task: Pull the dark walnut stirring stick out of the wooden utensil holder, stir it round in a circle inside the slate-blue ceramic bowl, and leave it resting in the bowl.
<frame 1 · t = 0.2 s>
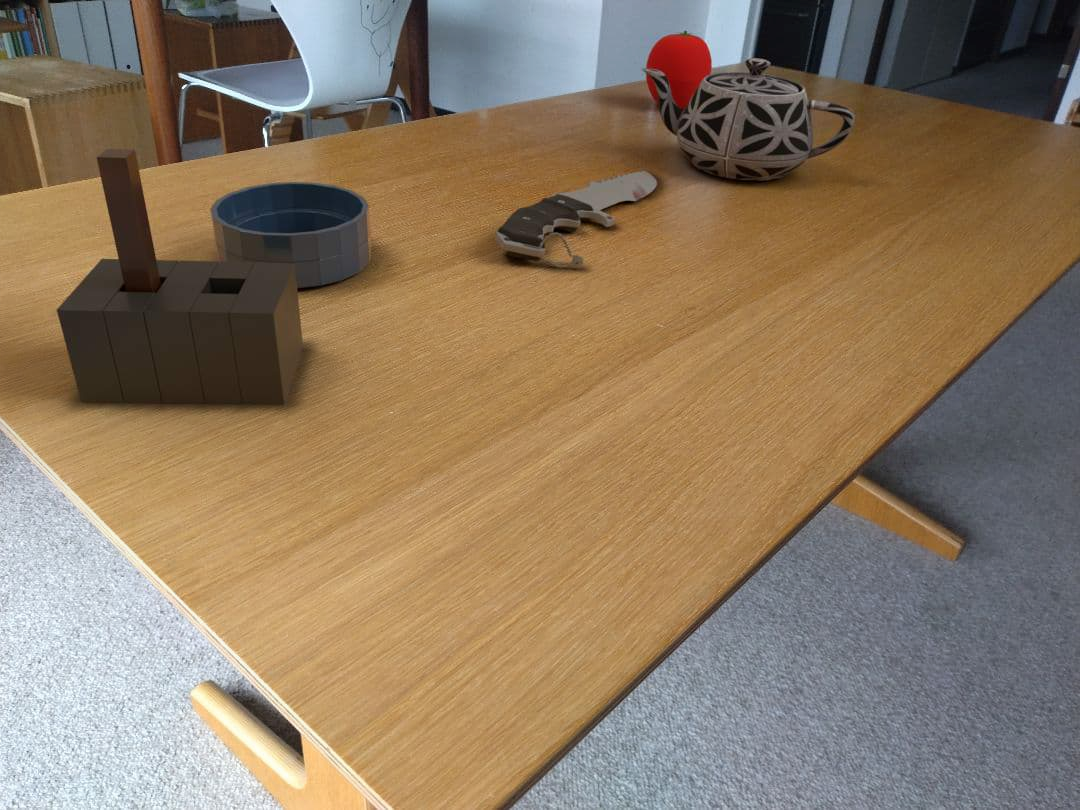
teapot: (731, 168, 128), on the table
knife: (584, 217, 107), on the table
holder: (199, 374, 71), on the table
stick: (161, 374, 71), resting in holder
bowl: (296, 262, 91), on the table
tomato: (674, 109, 155), on the table
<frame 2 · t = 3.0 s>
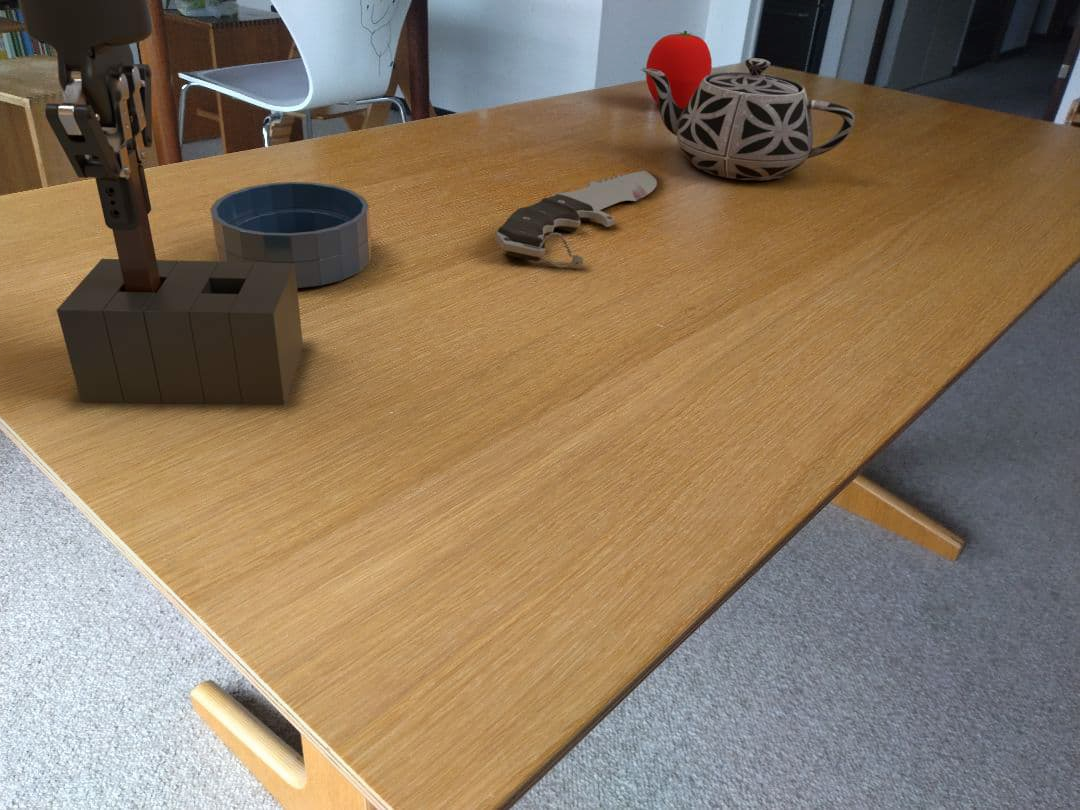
hand: (129, 220, 64), 13 cm above the table, tool pointing down, fingers closed on stick, 2 cm apart
stick: (161, 374, 71), resting in holder, touching gripper
everything else where it was.
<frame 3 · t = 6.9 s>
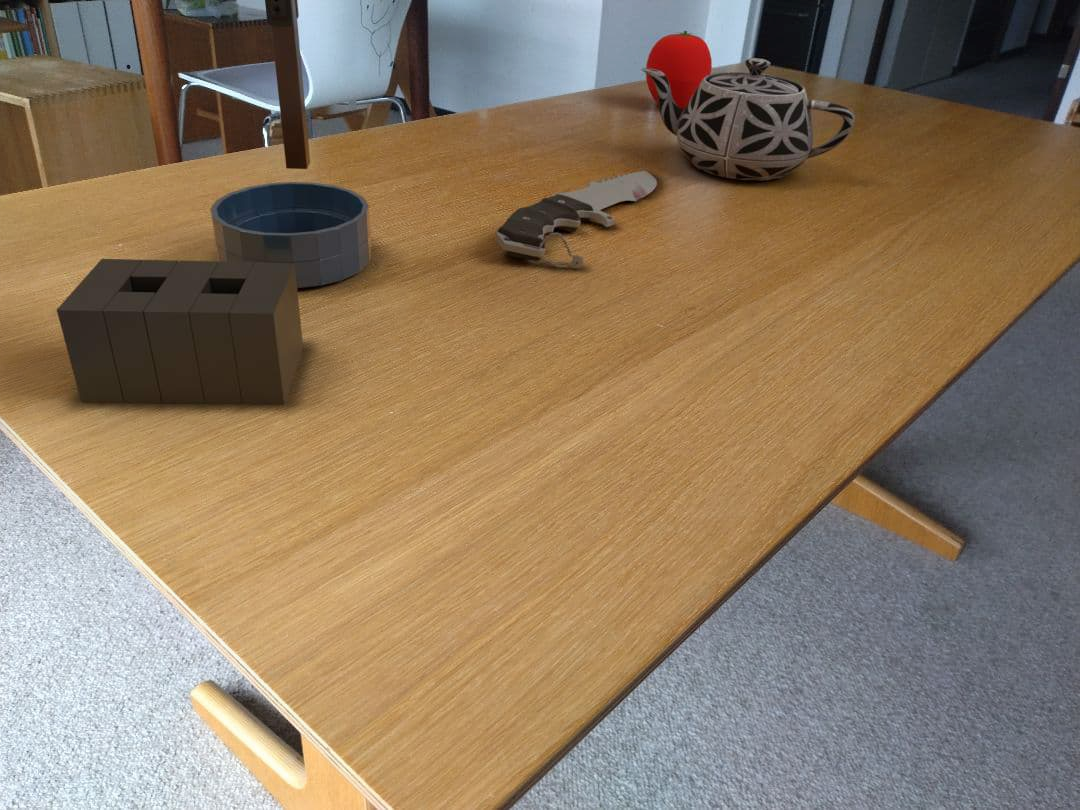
hand: (283, 22, 79), 23 cm above the table, tool pointing down, fingers closed on stick
stick: (298, 165, 86), point 10 cm above the table, touching gripper
everything else where it was.
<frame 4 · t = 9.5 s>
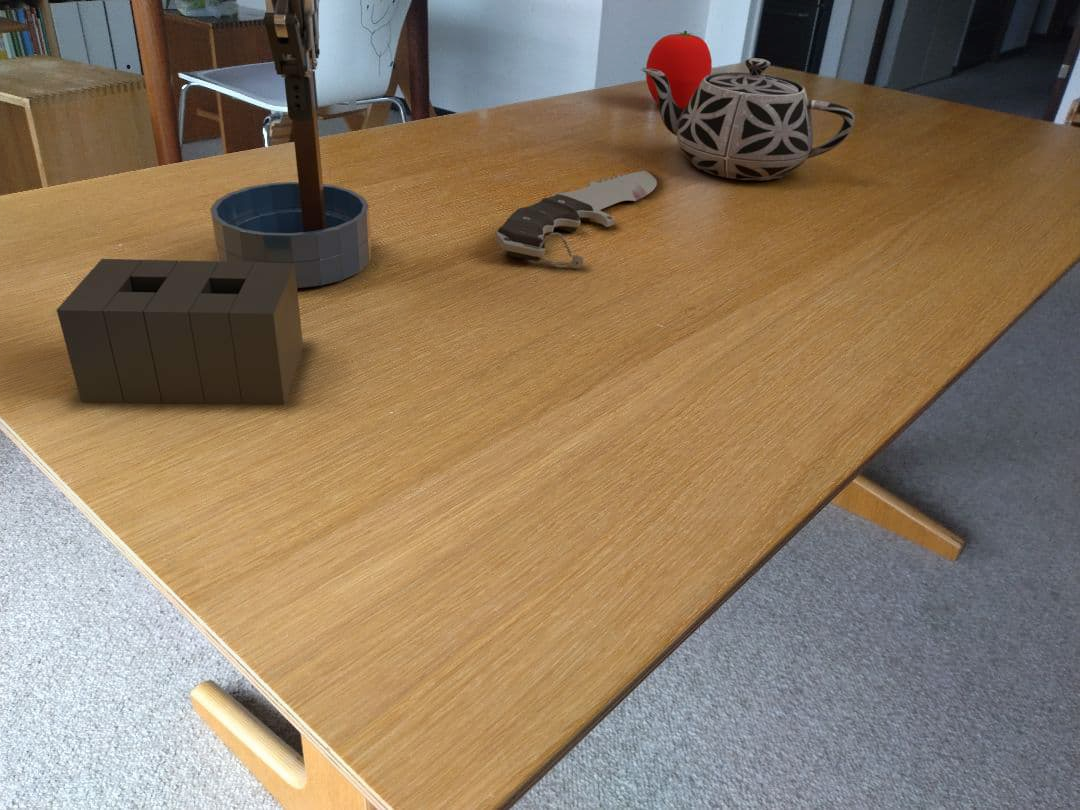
hand: (303, 114, 82), 15 cm above the table, tool pointing down, fingers closed on stick, 2 cm apart
stick: (316, 245, 89), point 2 cm above the table, touching gripper
everything else where it was.
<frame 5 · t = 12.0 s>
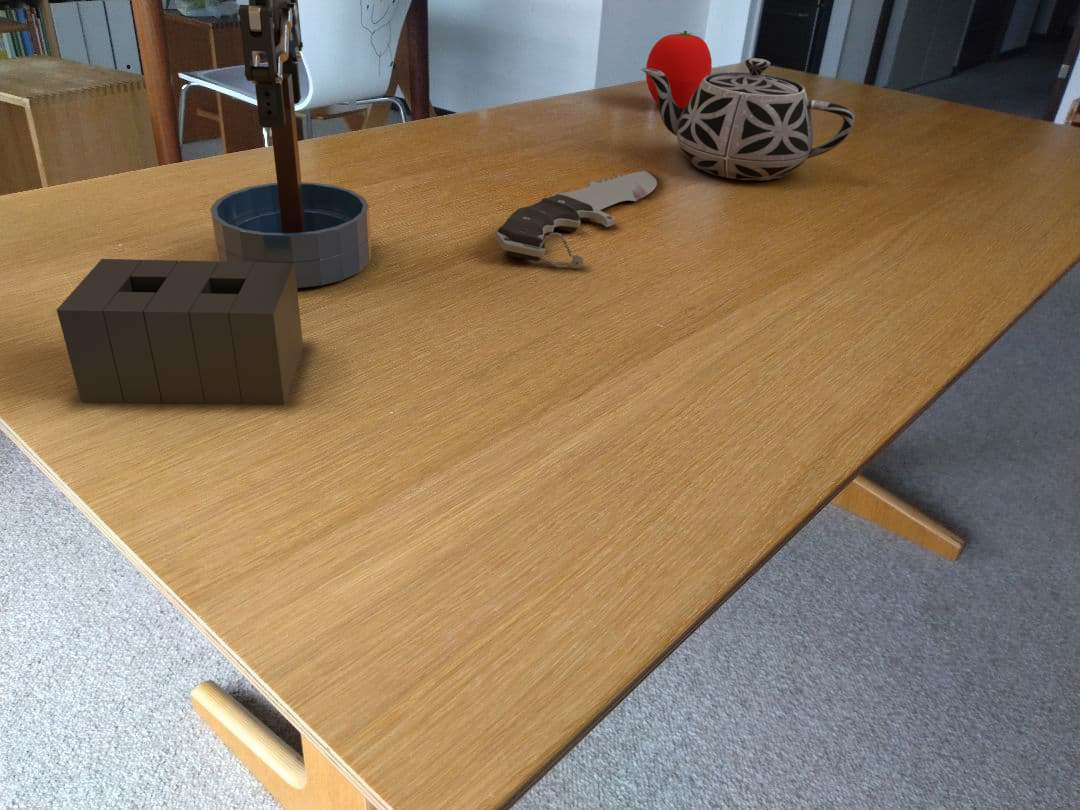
hand: (281, 114, 83), 15 cm above the table, tool pointing down, fingers open, 8 cm apart
stick: (296, 256, 91), point 1 cm above the table, touching bowl
everything else where it was.
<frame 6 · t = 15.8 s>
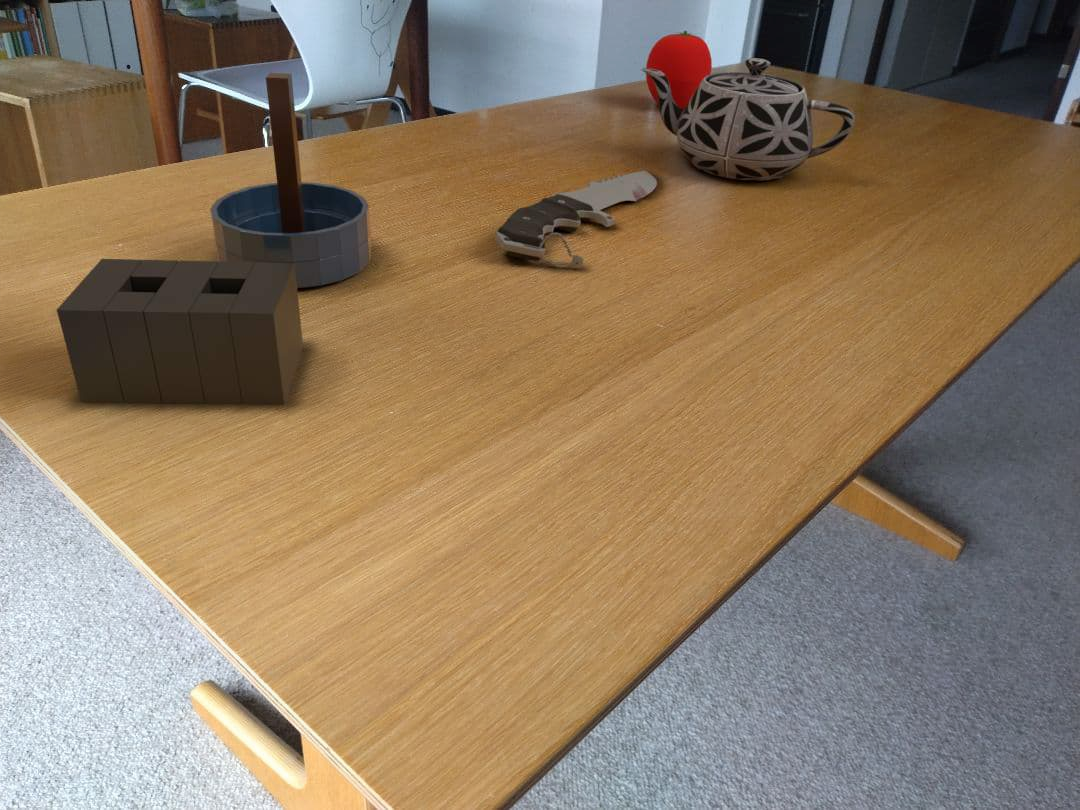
nothing on the table moved.
at the end: stick inside the target area in the bowl (0.1 cm from its centre), point 0.6 cm above the bowl's base; stick moved 24.1 cm from its start; the gripper is holding nothing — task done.
